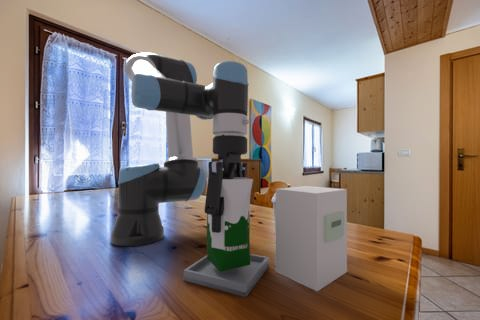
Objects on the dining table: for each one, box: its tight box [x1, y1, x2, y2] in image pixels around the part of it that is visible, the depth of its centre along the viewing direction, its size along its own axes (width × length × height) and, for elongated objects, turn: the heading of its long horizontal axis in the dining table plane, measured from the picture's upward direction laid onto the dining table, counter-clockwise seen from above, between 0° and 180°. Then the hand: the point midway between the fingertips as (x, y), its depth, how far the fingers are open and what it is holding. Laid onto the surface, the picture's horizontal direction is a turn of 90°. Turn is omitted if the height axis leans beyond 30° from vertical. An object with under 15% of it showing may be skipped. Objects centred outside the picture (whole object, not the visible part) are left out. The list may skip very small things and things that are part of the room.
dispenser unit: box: [275, 185, 348, 292], centre depth 50 cm, size 11×12×18 cm
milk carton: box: [206, 176, 254, 272], centre depth 49 cm, size 9×9×20 cm
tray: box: [182, 253, 270, 298], centre depth 49 cm, size 14×14×2 cm
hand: (229, 240), depth 49 cm, fingers closed on milk carton, 9 cm apart
